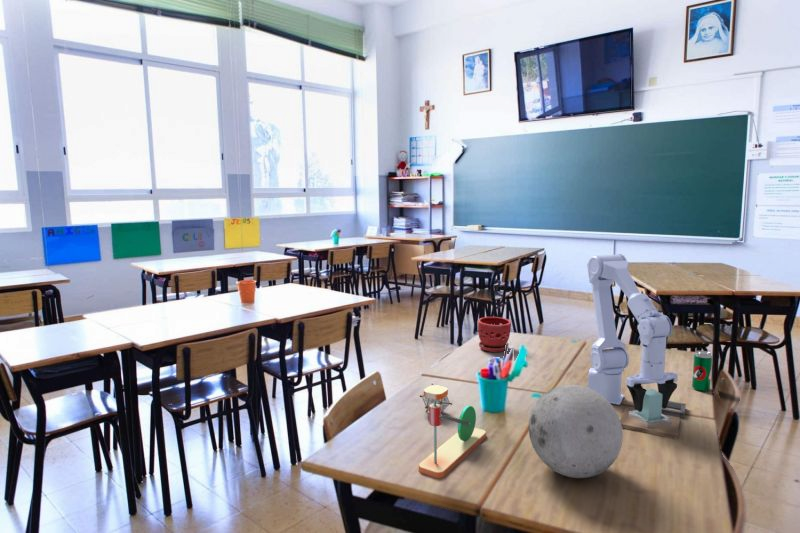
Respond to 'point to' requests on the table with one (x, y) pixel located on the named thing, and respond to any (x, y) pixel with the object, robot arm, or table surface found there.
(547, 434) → the moon model
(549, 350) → the table surface
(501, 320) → the plant pot
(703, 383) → the soda can
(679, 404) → the stand socket
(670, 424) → the socket board
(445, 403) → the grey wire strut frame
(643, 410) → the teal peg
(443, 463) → the crank mechanism
